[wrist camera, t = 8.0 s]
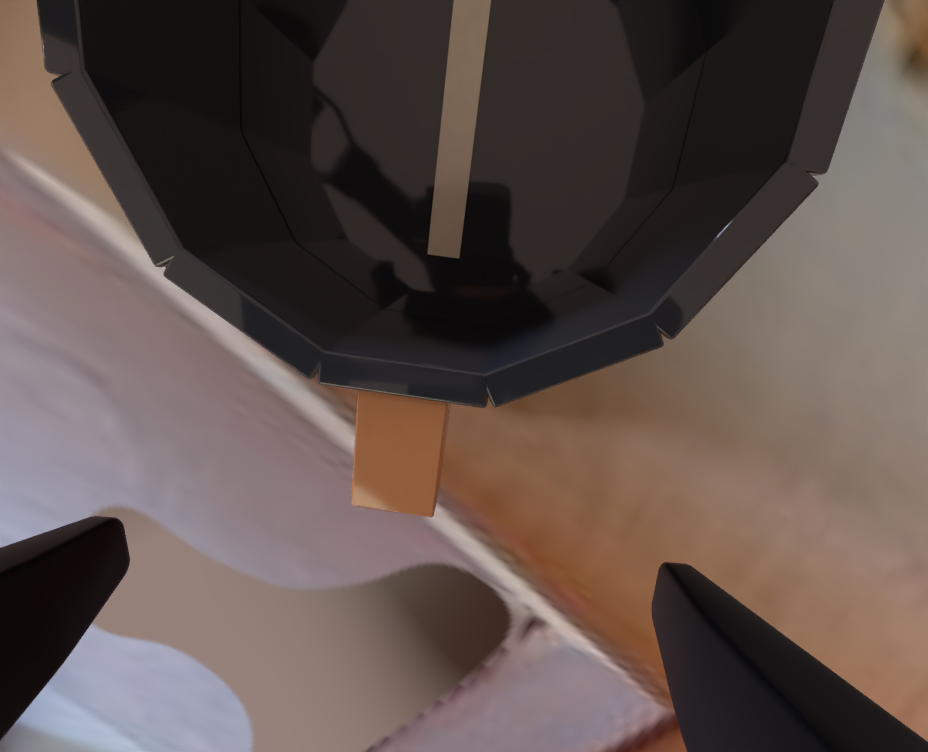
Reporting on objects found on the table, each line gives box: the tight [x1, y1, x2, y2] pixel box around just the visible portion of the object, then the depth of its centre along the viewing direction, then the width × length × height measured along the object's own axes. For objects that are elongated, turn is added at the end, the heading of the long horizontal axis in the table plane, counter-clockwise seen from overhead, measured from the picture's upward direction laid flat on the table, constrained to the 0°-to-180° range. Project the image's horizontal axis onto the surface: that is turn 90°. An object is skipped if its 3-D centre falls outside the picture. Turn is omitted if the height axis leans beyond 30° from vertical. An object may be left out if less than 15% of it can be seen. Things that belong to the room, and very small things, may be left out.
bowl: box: [37, 0, 884, 517], centre depth 12 cm, size 17×14×6 cm
